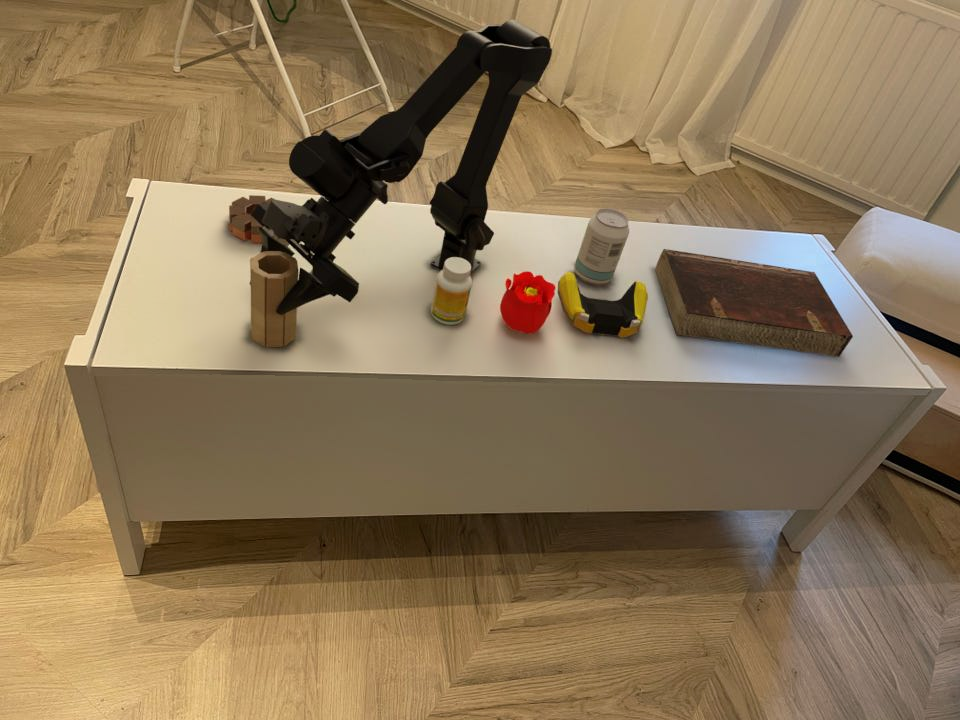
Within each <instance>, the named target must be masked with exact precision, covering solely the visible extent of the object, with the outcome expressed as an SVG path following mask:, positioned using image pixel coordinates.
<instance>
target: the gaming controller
mask: <svg viewBox="0 0 960 720" xmlns="http://www.w3.org/2000/svg"><path fill="white" fill-rule="evenodd" d="M557 296H558V299H559V302H560V306H561V309H562V311H563V313H564V314H565V316H566V318H567V319H568V321H569V322H570V323H571V324H572V326H573V327H575V328H577V329H579V330H580V331H583V332H584V333H587V334H596V335H597V334H598V335H605V336H615V337H619V338H622V339H623V338H626V337H630V336H632V335H634V334H636V333H637V332H638V331H639V330H640V328H641V326H642V324H643V322H644V317H645V314H646V309H647V304H648V300H649V295H648V291H647V287H646V283H643V282H641V281H638V280H635V281H634V282H633V283H632V284H631V285H630V286H629V287H628V289H627V290H626V291H625V292H624V294H623V295H622V296H621V298H619V299H617V300H608V299H602V298H601V299H600V298H594V297H593V298H592V297H587V296H585V295H584V294H583V293H582V292H581V290H580V287H579V284H578V281H577V278H576V275H575V273H573V272H571V271H569V272H566V273H565V274H563V275H562V276H561V277H560V278H559V279H558V281H557Z"/></svg>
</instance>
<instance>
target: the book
mask: <svg viewBox="0 0 960 720" xmlns="http://www.w3.org/2000/svg"><path fill="white" fill-rule="evenodd" d="M654 271H655V274H656V277H657V280H658V283H659V286H660V289H661V293H662V295H663V298H664V301H665V304H666V308H667V309H668V313H669V316H670V318H671V319H670V320H671V322H672V325H673V328H674V331H675V334H676V335H680V336H687V337H694V338H701V339H708V340H716V341H723V342H730V343H737V344H745V345H751V346H757V347H759V346H760V347H766V348H774V349H780V350H781V349H782V350H786V351H787V350H788V351H794V352H801V353H808V354H809V353H810V354H816V355H823V356H830V357H836V358H837V357H838V358H840V357H841V356H842V354H843V352H844V351H845V349H846V348H847V347H848V345H849V343H850V342H851V340H852V339H853V338H854V335H853V334H852V332H851V330H850V328H849V326H848V325H847V324H846V322H845V320H844V319H843V317H842V315H841V314H840V312H839V310H838V309H837V307H836V305H835V304H834V302H833V300H832V299H831V297H830V296H829V294H828V292H827V291H826V289H825V287H824V285H823V284H822V282H821V280H820V278H819V277H818V275H817V273H816V272H815V271H809V270H803V269H797V268H789V267H784V266H778V265H770V264H765V263H758V262H752V261H746V260H745V261H744V260H737V259H732V258H727V257H726V258H725V257H720V256H712V255H706V254H699V253H693V252H687V251H679V250H672V249H668V248H667V249H666V248H663V249H662V251H661V254H660V255H659V258H658V259H657V262H656V265H655V269H654Z"/></svg>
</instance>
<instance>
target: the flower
mask: <svg viewBox="0 0 960 720" xmlns="http://www.w3.org/2000/svg"><path fill="white" fill-rule="evenodd" d="M512 275H513V276H512V279H510V278H509V277H508V278H506V280H505V283H504V285H505V289H506V290H505V291H504V293H503V296H502V299H501V301H500V305H499V310H500V311H499V312H500V315H501V318H502V320H503V322H504V323H505V325H506V326H507V327H508V328H509V329H510V330H512V331H516V332H519V333H522V334H527V335H528V334H529V335H531V334H536V333H537V332H538V331H539V330H540V329H541V328H542V327H543V326H544V324H545V322H546V321H547V319H548V318H549V316H550V314H551V310H552V304H553V298H554V297H555V295H556V293H555V291H556V285H555V284H554V283H552V282H549V281H547V280H546V279H545V278H544V276H543V275H541V274H538V275H534V274H533V273H532V272H531V271H528V270H527V271H526V270H525V271H522V272H520V273H518V274H517V273H513V274H512Z"/></svg>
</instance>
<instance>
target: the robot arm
mask: <svg viewBox="0 0 960 720" xmlns="http://www.w3.org/2000/svg"><path fill="white" fill-rule="evenodd" d="M552 55H553V48H552V46H551V42H550V40H549V38H548V37H546V36H544V35H542V34H541V33H539V32H537V31H536V30H534V29H533V28H530V27H528V26H527V25H525V24H523V23H522V22H519V21H518V20H516V19H509V20H506V21H504V22H503V23H501V24H499V23H497V24H485V25H483V26H482V27H481V28H479V29H478V30H467V31H464V32H463V33H462V34H461V35H460V36H459V38H458V39H457V42H456V45H455V47H454V48H453V50H451V52H450V53H448V55H447V56H446V57H445V58H444V60H443V61H442V62H441V63H439V65H438V66H437V67H436V69H435V70H433V72H432V73H431V74H430V75H429V76H428V78H426V79H425V80H424V81H423V83H422V84H421V85H420V86H419V87H418V88H417V89H416V90H415V92H414V93H412V95H411V96H410V97H409V98H408V99H407V101H405V102H404V104H402V105H401V106H400V107H399V108H398V109H397V110H395V111H391V112H388V113H386V114H382V115H380V116H378V117H377V118H376V119H375V120H374V121H372V123H370V124H369V125H368V126H367V127H366V128H365V129H364V130H362V131H360V132H358V133H355V134H353V135H350V136H347V137H345V138H342V139H339V138H338V137H337V136H336V135H334V134H333V133H332V132H331V131H329V130H328V129H326V128H324V129H323V131H321V133H320V134H319V135H315V134H313V135H310V136H307V137H305V138H303V139H302V140H299V141H298V142H296V144H294V146H293V148H292V149H291V152H290V153H289V157H288V166H289V169H290V171H291V173H292V174H293V175H294V176H296V177H297V178H298V179H300V180H301V181H302V182H303V183H304V184H306V185H307V186H308V187H310V189H312V190H313V191H315V192H316V193H317V194H318V195H320V197H319V198H318V200H316V199H314V198H313V197H310V198H309V199H307V200H306V201H305V202H304V204H302V205H299V204H297V203H294V202H289V201H284V200H279V199H275V198H273V199H272V200H271V202H270V204H269V203H268V202H267V203H263V204H259V205H258V206H257V208H256V209H255V210H254V211H253V212H252V214H251V216H252V217H253V218H254V219H255V220H256V221H257V222H258V223H260V224H261V225H262V226H264V227H263V228H261V227H258V231H259V232H260V235H261V241H262V243H261V247H260V250H259V253H261V252H264V253H265V251H281V252H285V253H287V254H289V255H290V256H292V257H294V255H295V254H296V253H295V252H294V251H293V250H292V249H294V250H295V251H296V252H297V253H298V254H299V255H300V256H301V257H302V258H303V259H304V260H305V261H307V263H308V264H310V266H311V267H312V269H311V270H310V271H307V270H306V269H304V268H302V267H299V270H298V281H297V283H296V284H295V285H294V286H293V288H292V289H291V290H290V291H289V293H288V294H287V295H286V296H285V298H284V299H283V300H282V302H281V303H280V305H279V306H278V308H277V309H276V313H277V314H279V315H283V314H285V313H287V312H289V311H291V310H294V309H296V308H297V309H298V308H300V307H302V306H304V305H306V304H309V303H311V302H314V301H316V300H319V299H321V298H324V297H327V296H332V297H333V298H334V297H336V296H338V297H340V298H341V299H343V300H345V301H346V302H348V303H351V302H352V301H353V299H354V298H355V297H356V296H357V295H358V294H359V289H360V282H358V281H357V280H356V279H355V278H354V277H353V276H352V275H351V274H350V273H349V272H347V271H346V270H345V269H344V268H343V267H341V266H340V265H338V264H336V262H334V261H335V259H337V256H336V255H334V254H333V253H334V251H335V250H336V249H337V247H338V246H339V245H340V244H341V243H342V241H343V240H344V239H345V238H348V239H349V240H350V241H351V240H352V239H353V238H354V237H355V236H356V233H355V232H354V231H353V230H352V229H353V228H354V227H355V226H356V224H357V223H358V222H359V221H360V219H362V217H363V216H364V215H365V213H366V212H367V211H368V210H369V209H370V207H372V205H373V204H374V202H376V200H378V201H379V202H380V203H382V204H383V205H387V204H388V202H389V196H388V185H389V184H392V183H393V184H394V183H400V182H402V181H403V180H405V179H406V178H407V177H408V176H409V175H410V173H411V172H412V171H413V169H414V168H415V167H416V165H417V164H418V162H419V161H420V160H421V158H422V157H423V154H424V150H425V146H426V142H427V138H428V137H429V135H430V134H431V133H432V131H434V129H435V128H436V127H437V126H438V125H439V124H440V122H441V121H442V120H443V119H444V118H445V117H446V116H447V115H448V114H449V113H450V112H451V110H452V109H453V108H454V107H455V106H456V105H457V104H458V103H459V102H460V101H461V100H462V98H463V97H464V96H465V95H466V94H467V93H468V92H469V90H470V89H471V88H473V86H474V85H475V84H476V83H477V82H478V81H479V79H481V77H482V76H484V74H485V73H487V74H488V76H487V77H488V86H487V88H486V91H485V94H484V96H483V99H482V102H481V105H480V107H479V110H478V113H477V116H476V118H475V121H474V123H473V126H472V129H471V131H470V134H469V137H468V139H467V142H466V145H465V148H464V150H463V152H462V155H461V158H460V161H459V163H458V167H457V169H456V171H455V174H453V175H452V176H451V177H449V178H448V179H447V180H445V181H439V182H438V183H437V184H436V186H435V189H434V190H435V191H434V194H433V196H432V198H431V199H430V201H429V205H430V209H429V210H430V211H429V213H430V215H431V217H432V219H433V220H434V225H435V226H436V227H438V228H440V229H441V230H442V231H444V233H443V237H442V238H443V239H442V244H441V248H440V254H438V255H437V256H436V257H434V258H433V259H432V260H431V261H430V264H429V265H430V266H431V267H433V268H435V269H437V270H439V271H441V270H443V267H444V263H445V261H446V260H447V259H448V258H451V257H459V258H463V259H465V260H467V261H468V262H469V263H470V265H471V272H470V275H472V274H473V273H474V272H475V271H477V270H478V269H479V268H480V267H481V266H482V261H480V260H478V259H476V254H477V251H483V250H484V248H485V246H488V245H489V244H491V241H492V239H493V237H494V236H495V232H494V231H493V230H492V229H491V227H490V226H489V225H488V224H487V223H486V222H485V219H486V216H487V212H488V210H489V202H488V193H487V184H488V182H489V179H490V176H491V174H492V171H493V169H494V166H495V163H496V162H497V158H498V156H499V154H500V151H501V149H502V146H503V144H504V141H505V138H506V136H507V134H508V131H509V128H510V126H511V124H512V121H513V119H514V116H515V113H516V111H517V108H518V106H519V104H520V101H521V99H522V97H523V96H524V95H526V93H528V92H529V91H530V90H531V89H533V88H534V87H535V86H537V85H538V84H539V83H540V80H541V79H542V77H543V75H544V73H545V71H546V69H547V67H548V65H549V64H550V62H551V58H552ZM387 183H388V184H387ZM289 246H290V247H292V249H291V248H290V247H289ZM249 286H251V284H250V282H249Z"/></svg>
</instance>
